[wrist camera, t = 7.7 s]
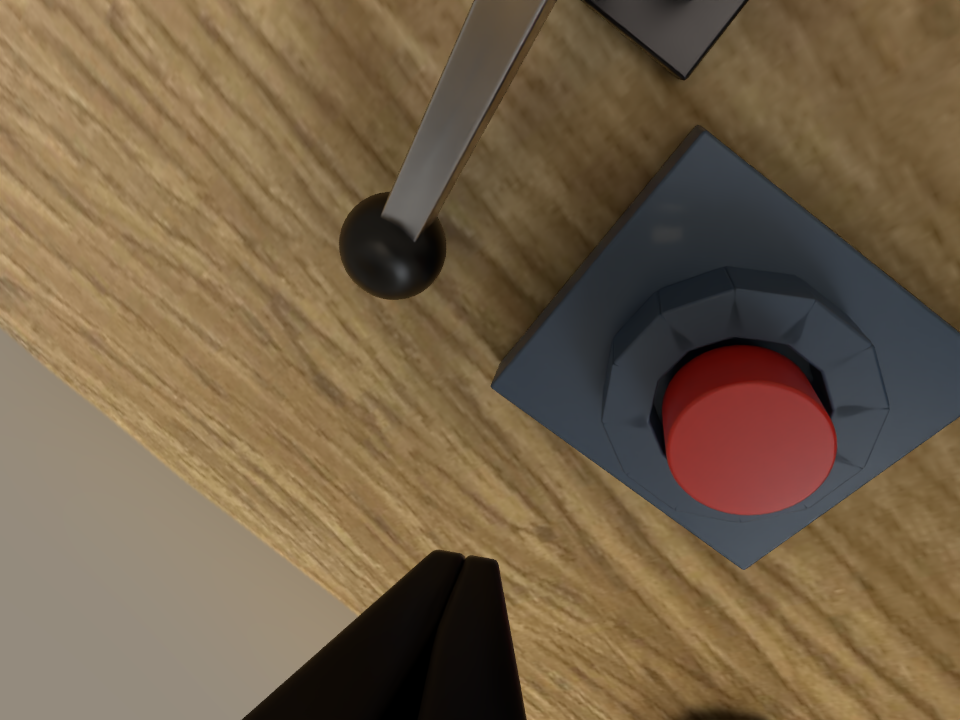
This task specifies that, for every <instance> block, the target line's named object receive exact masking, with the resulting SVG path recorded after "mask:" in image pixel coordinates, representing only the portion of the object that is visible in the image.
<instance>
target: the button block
mask: <svg viewBox="0 0 960 720" xmlns="http://www.w3.org/2000/svg"><path fill="white" fill-rule="evenodd" d="M731 345H751V346H758V347H763V348H767V349H770V350H773V351H775V352H778V353H780V354H782V355H784V356H785V357H787V358H788V359H790V360H791V361H792V362H794V363H795V364H796V365H797V366H798V367H799V368H800V369H801V370H802V372H803V373H804V374H805V376H806V377H807V379H808V381H809V382H810V384H811V386H812V387H813V389H814V391H815V393H816V394H817V396H818V398H819V399H820V401H821V403H822V405H823V406H824V408H825V410H826V412H827V413H828V415H829V417H830V418H831V420H832V423H833V425H834V428H835V431H836V436H837V452H836V458H835V461H834V464H833V467H832V469H831V471H830V473H829V475H828V477H827V478H826V479H825V481H824V482H823V484H822V485H821V486H820V487H819V488H818V489H817V490H816V491H815V492H814V493H812V494H811V495H810V496H809V497H807V498H806V499H804V500H803V501H801V502H799V503H797V504H795V505H793V506H791V507H789V508H786V509H784V510H781V511H777V512H773V513H768V514H762V515H736V514H729V513H725V512H721V511H718V510H715V509H712V508H709V507H707V506H705V505H703V504H701V503H700V502H698V501H697V500H695V499H693V498H692V497H691V496H690V495H689V494H687V493H686V492H685V491H684V490H683V489H682V488H681V487H680V485H679V484H678V483H677V481H676V480H675V479H674V477H673V475H672V473H671V471H670V469H669V465H668V462H667V457H666V449H665V439H664V429H663V419H662V403H663V397H664V394H665V391H666V389H667V387H668V385H669V383H670V381H671V380H672V378H673V377H674V375H675V374H676V373H677V372H678V371H679V370H680V369H681V368H682V367H683V366H684V365H685V364H686V363H688V362H689V361H691V360H692V359H694V358H695V357H697V356H699V355H701V354H703V353H705V352H707V351H710V350H713V349H716V348H720V347H724V346H731ZM491 388H492V389H494V390H495V391H496V392H498V393H499V394H501V395H502V396H503V397H505V398H506V399H507V400H509V401H510V402H512V403H513V404H514V405H516V406H517V407H519V408H520V409H521V410H523V411H524V412H525V413H527V414H528V415H530V416H531V417H532V418H534V419H535V420H536V421H538V422H539V423H541V424H542V425H543V426H545V427H546V428H548V429H549V430H550V431H552V432H553V433H554V434H556V435H557V436H559V437H560V438H561V439H563V440H564V441H565V442H567V443H568V444H570V445H571V446H572V447H574V448H575V449H577V450H578V451H579V452H581V453H582V454H583V455H585V456H586V457H588V458H589V459H590V460H592V461H593V462H595V463H596V464H597V465H599V466H600V467H601V468H603V469H604V470H606V471H607V472H608V473H610V474H611V475H612V476H614V477H615V478H617V479H618V480H619V481H621V482H622V483H624V484H625V485H626V486H628V487H629V488H630V489H632V490H633V491H635V492H636V493H637V494H639V495H640V496H641V497H643V498H644V499H646V500H647V501H648V502H650V503H651V504H653V505H654V506H655V507H657V508H658V509H659V510H661V511H662V512H664V513H665V514H666V515H668V516H669V517H671V518H672V519H673V520H675V521H676V522H677V523H679V524H680V525H682V526H683V527H684V528H686V529H687V530H688V531H690V532H691V533H693V534H694V535H695V536H697V537H698V538H700V539H701V540H702V541H704V542H705V543H706V544H708V545H709V546H711V547H712V548H713V549H715V550H716V551H717V552H719V553H720V554H722V555H723V556H724V557H726V558H727V559H729V560H730V561H731V562H733V563H734V564H735V565H737V566H738V567H740V568H741V569H743V570H745V569H747V568H748V567H749V566H751V565H752V564H754V563H755V562H756V561H758V560H759V559H761V558H762V557H763V556H765V555H766V554H768V553H769V552H771V551H772V550H773V549H775V548H776V547H778V546H779V545H780V544H782V543H783V542H785V541H786V540H787V539H789V538H790V537H792V536H793V535H794V534H796V533H797V532H799V531H800V530H801V529H803V528H804V527H806V526H807V525H808V524H810V523H811V522H813V521H814V520H815V519H817V518H818V517H820V516H821V515H822V514H824V513H825V512H827V511H828V510H829V509H831V508H832V507H834V506H835V505H836V504H838V503H839V502H841V501H842V500H843V499H845V498H846V497H848V496H849V495H850V494H852V493H853V492H855V491H856V490H857V489H859V488H860V487H862V486H863V485H865V484H866V483H867V482H869V481H870V480H872V479H873V478H874V477H876V476H877V475H879V474H880V473H881V472H883V471H884V470H886V469H887V468H888V467H890V466H891V465H893V464H894V463H895V462H897V461H898V460H900V459H901V458H902V457H904V456H905V455H907V454H908V453H909V452H911V451H912V450H914V449H915V448H916V447H918V446H919V445H921V444H922V443H923V442H925V441H926V440H928V439H929V438H930V437H932V436H933V435H935V434H936V433H937V432H939V431H940V430H942V429H943V428H944V427H946V426H947V425H949V424H950V423H951V422H953V421H954V420H956V419H957V418H959V417H960V332H958V331H957V330H956V329H955V328H953V327H952V326H951V325H950V324H948V323H947V322H946V321H945V320H943V319H942V318H941V317H940V316H938V315H937V314H936V313H935V312H933V311H932V310H931V309H930V308H928V307H927V306H926V305H925V304H923V303H922V302H921V301H920V300H918V299H917V298H916V297H915V296H913V295H912V294H911V293H910V292H908V291H907V290H906V289H905V288H903V287H902V286H901V285H900V284H898V283H897V282H896V281H895V280H893V279H892V278H891V277H890V276H888V275H887V274H886V273H885V272H883V271H882V270H881V269H880V268H878V267H877V266H876V265H875V264H873V263H872V262H871V261H870V260H868V259H867V258H866V257H865V256H863V255H862V254H861V253H860V252H858V251H857V250H856V249H855V248H853V247H852V246H851V245H850V244H848V243H847V242H846V241H845V240H843V239H842V238H841V237H840V236H838V235H837V234H836V233H835V232H833V231H832V230H831V229H830V228H828V227H827V226H826V225H825V224H823V223H822V222H821V221H819V220H818V219H817V218H816V217H814V216H813V215H812V214H811V213H809V212H808V211H807V210H806V209H804V208H803V207H802V206H801V205H799V204H798V203H797V202H796V201H794V200H793V199H792V198H791V197H789V196H788V195H787V194H786V193H784V192H783V191H782V190H781V189H779V188H778V187H777V186H776V185H774V184H773V183H772V182H771V181H769V180H768V179H767V178H766V177H764V176H763V175H762V174H761V173H759V172H758V171H757V170H756V169H754V168H753V167H752V166H751V165H749V164H748V163H747V162H746V161H744V160H743V159H742V158H741V157H739V156H738V155H737V154H736V153H734V152H733V151H732V150H731V149H729V148H728V147H727V146H726V145H724V144H723V143H722V142H721V141H719V140H718V139H717V138H716V137H714V136H713V135H712V134H711V133H709V132H708V131H707V130H706V129H704V128H703V127H702V126H700V125H697V126H695V127H694V128H693V130H692V131H691V132H690V133H689V134H688V136H687V137H686V138H685V139H684V140H683V142H682V143H681V144H680V145H679V147H678V148H677V149H676V150H675V151H674V153H673V154H672V155H671V156H670V157H669V159H668V160H667V161H666V162H665V164H664V165H663V166H662V167H661V168H660V170H659V171H658V172H657V173H656V174H655V176H654V177H653V178H652V179H651V181H650V182H649V183H648V184H647V185H646V187H645V188H644V189H643V190H642V191H641V193H640V194H639V195H638V196H637V198H636V199H635V200H634V201H633V202H632V204H631V205H630V206H629V207H628V208H627V210H626V211H625V212H624V213H623V215H622V216H621V217H620V218H619V219H618V221H617V222H616V223H615V224H614V225H613V227H612V228H611V229H610V230H609V231H608V233H607V234H606V235H605V236H604V238H603V239H602V240H601V241H600V242H599V244H598V245H597V246H596V247H595V248H594V250H593V251H592V252H591V253H590V255H589V256H588V257H587V258H586V259H585V261H584V262H583V263H582V264H581V265H580V267H579V268H578V269H577V270H576V272H575V273H574V274H573V275H572V276H571V278H570V279H569V280H568V281H567V282H566V284H565V285H564V286H563V287H562V289H561V290H560V291H559V292H558V293H557V295H556V296H555V297H554V298H553V299H552V301H551V302H550V303H549V304H548V306H547V307H546V308H545V309H544V310H543V312H542V313H541V314H540V315H539V316H538V318H537V319H536V320H535V321H534V323H533V324H532V325H531V326H530V327H529V329H528V330H527V331H526V332H525V333H524V335H523V336H522V337H521V338H520V339H519V341H518V342H517V343H516V344H515V346H514V347H513V348H512V349H511V350H510V352H509V353H508V354H507V355H506V356H505V358H504V359H503V360H502V361H501V363H500V365H499V367H498V369H497V372H496V374H495V376H494V379H493V381H492V383H491Z"/></svg>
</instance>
